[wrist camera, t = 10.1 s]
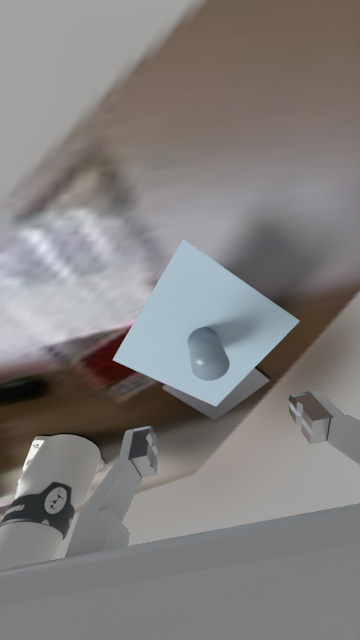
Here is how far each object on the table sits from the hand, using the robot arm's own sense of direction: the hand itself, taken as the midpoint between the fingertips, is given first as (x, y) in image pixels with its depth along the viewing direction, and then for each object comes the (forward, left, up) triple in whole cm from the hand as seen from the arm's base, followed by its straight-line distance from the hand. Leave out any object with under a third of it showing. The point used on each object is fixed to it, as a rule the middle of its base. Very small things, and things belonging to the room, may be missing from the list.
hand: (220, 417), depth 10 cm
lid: (0, 0, -10) cm, 10 cm away
